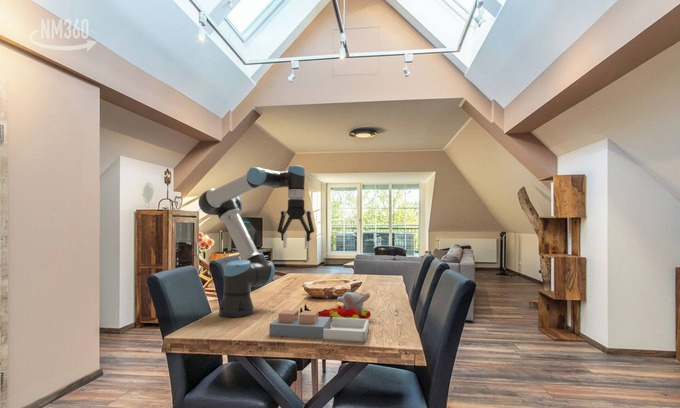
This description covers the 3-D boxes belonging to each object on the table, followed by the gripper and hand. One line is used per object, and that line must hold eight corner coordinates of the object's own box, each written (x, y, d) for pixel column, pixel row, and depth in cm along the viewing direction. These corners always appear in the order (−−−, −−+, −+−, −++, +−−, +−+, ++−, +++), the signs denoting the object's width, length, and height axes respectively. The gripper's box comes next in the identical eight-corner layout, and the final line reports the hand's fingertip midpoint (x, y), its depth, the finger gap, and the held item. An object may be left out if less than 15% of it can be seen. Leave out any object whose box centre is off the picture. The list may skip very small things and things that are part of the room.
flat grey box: (269, 335, 131) (269, 324, 131) (281, 324, 145) (281, 314, 145) (323, 338, 128) (323, 327, 128) (330, 327, 141) (330, 317, 142)
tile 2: (299, 322, 133) (299, 314, 134) (303, 318, 139) (303, 310, 140) (314, 323, 132) (314, 315, 133) (318, 319, 138) (318, 311, 139)
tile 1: (278, 321, 135) (278, 313, 135) (283, 317, 141) (283, 309, 141) (293, 322, 134) (294, 314, 134) (298, 318, 140) (298, 310, 140)
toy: (336, 309, 181) (344, 317, 152) (336, 290, 183) (344, 293, 154) (359, 309, 183) (371, 316, 153) (359, 289, 184) (371, 293, 155)
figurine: (306, 302, 164) (372, 303, 158) (307, 315, 164) (372, 317, 157) (298, 308, 152) (368, 310, 146) (298, 323, 152) (369, 325, 145)
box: (323, 339, 126) (323, 329, 126) (332, 326, 143) (332, 317, 143) (364, 342, 124) (364, 331, 124) (368, 328, 140) (368, 319, 141)
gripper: (270, 198, 164) (269, 248, 162) (317, 198, 160) (317, 249, 159) (276, 199, 171) (275, 247, 170) (321, 199, 167) (320, 248, 166)
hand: (295, 248), depth 164 cm, fingers open, 9 cm apart
